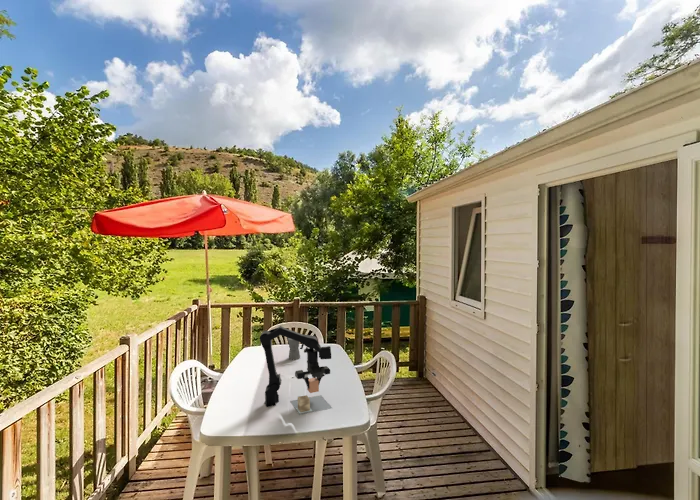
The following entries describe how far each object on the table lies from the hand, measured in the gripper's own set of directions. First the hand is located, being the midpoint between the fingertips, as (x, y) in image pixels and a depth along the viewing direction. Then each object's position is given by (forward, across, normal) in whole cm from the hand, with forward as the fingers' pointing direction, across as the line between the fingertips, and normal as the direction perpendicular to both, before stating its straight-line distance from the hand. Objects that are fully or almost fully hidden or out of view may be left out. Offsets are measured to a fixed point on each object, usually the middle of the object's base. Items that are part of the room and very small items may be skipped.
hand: (313, 387), depth 204 cm
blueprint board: (+8, -3, -6) cm, 10 cm away
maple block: (+6, -8, -10) cm, 14 cm away
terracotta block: (+2, 0, 0) cm, 2 cm away
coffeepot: (+8, +11, +78) cm, 79 cm away
